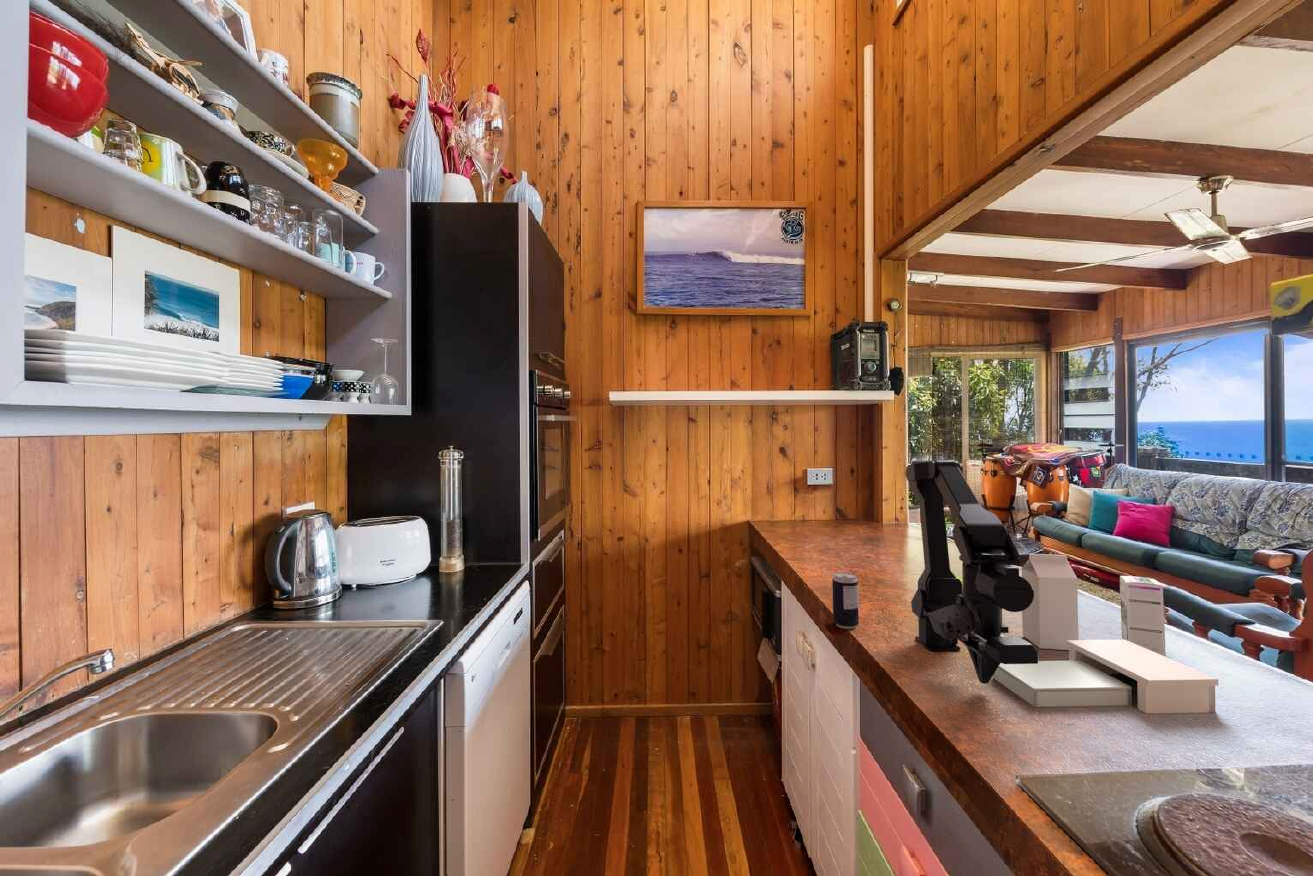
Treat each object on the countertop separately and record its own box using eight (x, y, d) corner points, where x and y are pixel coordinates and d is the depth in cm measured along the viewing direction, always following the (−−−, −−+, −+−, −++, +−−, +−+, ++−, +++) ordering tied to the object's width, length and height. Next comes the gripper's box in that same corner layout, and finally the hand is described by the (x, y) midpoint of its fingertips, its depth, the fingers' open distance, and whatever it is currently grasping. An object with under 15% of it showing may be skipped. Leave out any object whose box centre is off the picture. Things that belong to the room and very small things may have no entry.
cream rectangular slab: (1034, 706, 83) (1033, 688, 83) (993, 678, 93) (993, 661, 93) (1131, 705, 83) (1131, 687, 83) (1080, 676, 93) (1080, 660, 93)
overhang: (1149, 715, 80) (1148, 680, 80) (1067, 669, 96) (1066, 640, 96) (1219, 714, 80) (1218, 679, 80) (1125, 668, 96) (1124, 639, 96)
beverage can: (858, 622, 122) (857, 572, 122) (859, 631, 116) (858, 579, 116) (833, 620, 123) (832, 571, 124) (833, 628, 118) (832, 577, 118)
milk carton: (1078, 651, 104) (1077, 558, 104) (1039, 649, 105) (1038, 557, 105) (1058, 638, 111) (1057, 551, 111) (1022, 636, 112) (1020, 550, 112)
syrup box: (1166, 658, 100) (1165, 585, 100) (1126, 652, 103) (1125, 581, 103) (1157, 648, 105) (1156, 578, 105) (1119, 642, 108) (1118, 574, 108)
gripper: (908, 578, 97) (910, 660, 97) (968, 611, 79) (970, 712, 79) (966, 577, 97) (968, 659, 97) (1040, 610, 79) (1042, 711, 79)
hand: (983, 682), depth 88 cm, fingers closed
